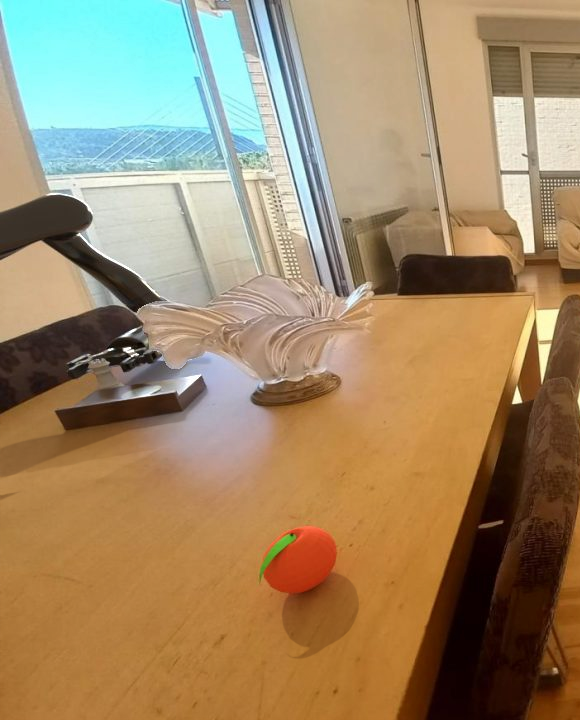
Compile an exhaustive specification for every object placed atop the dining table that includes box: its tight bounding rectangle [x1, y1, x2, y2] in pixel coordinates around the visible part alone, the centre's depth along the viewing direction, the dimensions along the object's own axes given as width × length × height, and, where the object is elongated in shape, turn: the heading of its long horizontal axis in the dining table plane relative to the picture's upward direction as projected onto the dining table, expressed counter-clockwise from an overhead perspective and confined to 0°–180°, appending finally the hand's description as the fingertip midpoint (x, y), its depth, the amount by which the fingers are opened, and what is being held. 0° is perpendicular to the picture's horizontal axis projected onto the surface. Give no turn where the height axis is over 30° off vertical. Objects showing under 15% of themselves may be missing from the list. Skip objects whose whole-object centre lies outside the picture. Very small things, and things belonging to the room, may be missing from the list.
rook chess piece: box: [87, 359, 126, 390], centre depth 101 cm, size 4×4×8 cm
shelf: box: [54, 374, 208, 431], centre depth 96 cm, size 18×12×4 cm, turn 111°
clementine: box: [258, 525, 338, 595], centre depth 52 cm, size 8×7×7 cm
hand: (97, 371), depth 99 cm, fingers open, 8 cm apart
